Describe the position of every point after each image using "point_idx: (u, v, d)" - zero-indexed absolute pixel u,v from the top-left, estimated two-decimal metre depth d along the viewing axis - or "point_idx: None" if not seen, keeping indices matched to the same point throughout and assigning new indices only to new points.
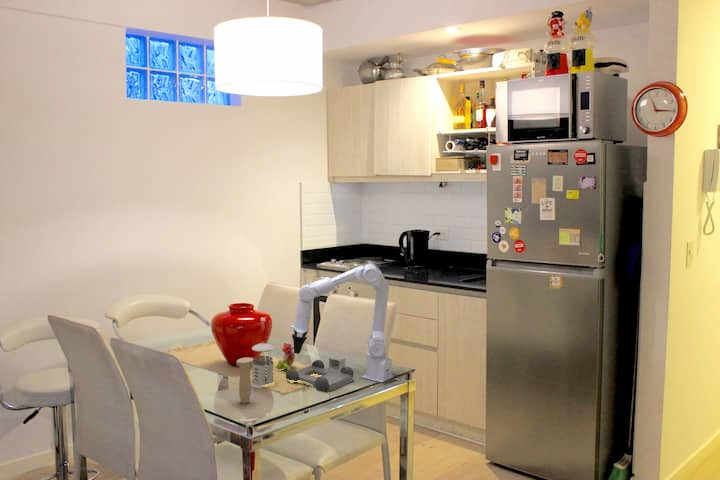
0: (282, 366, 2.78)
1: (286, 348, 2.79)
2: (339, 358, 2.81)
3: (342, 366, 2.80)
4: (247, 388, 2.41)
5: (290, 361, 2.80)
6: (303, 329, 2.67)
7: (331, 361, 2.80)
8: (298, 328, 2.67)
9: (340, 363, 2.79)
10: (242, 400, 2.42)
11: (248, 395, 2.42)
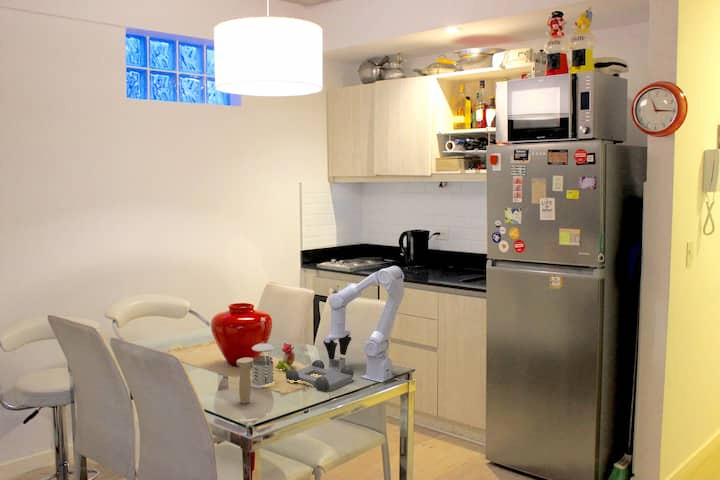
0: (282, 366, 2.78)
1: (286, 348, 2.79)
2: (339, 358, 2.81)
3: (342, 366, 2.80)
4: (247, 388, 2.41)
5: (290, 361, 2.80)
6: (335, 335, 2.77)
7: (331, 361, 2.80)
8: (331, 334, 2.78)
9: (340, 363, 2.79)
10: (242, 400, 2.42)
11: (248, 395, 2.42)
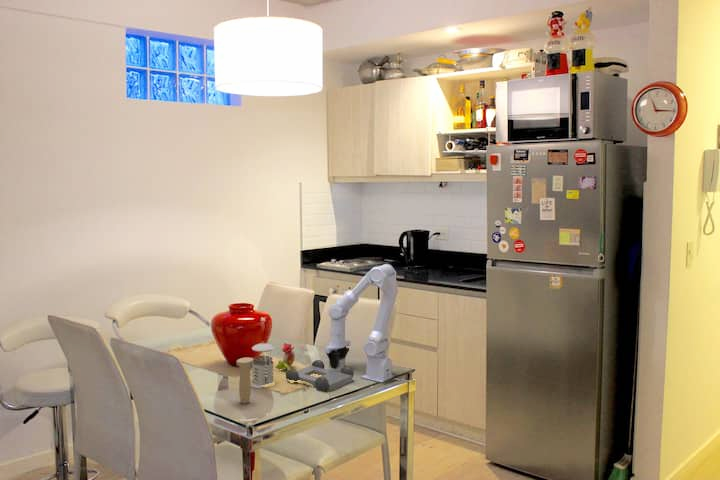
0: (282, 366, 2.78)
1: (286, 348, 2.79)
2: (339, 358, 2.81)
3: (342, 366, 2.80)
4: (247, 388, 2.41)
5: (290, 361, 2.80)
6: (335, 346, 2.77)
7: None
8: (331, 345, 2.79)
9: (340, 363, 2.79)
10: (242, 400, 2.42)
11: (248, 395, 2.42)
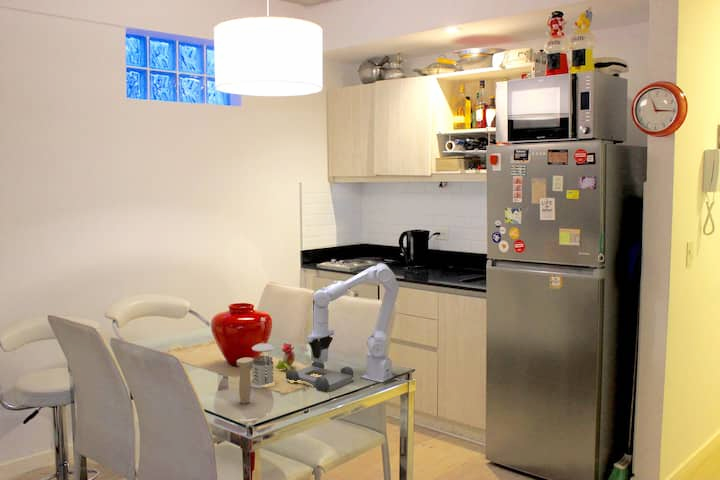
0: (282, 366, 2.78)
1: (286, 348, 2.79)
2: (321, 348, 2.70)
3: (324, 356, 2.69)
4: (247, 388, 2.41)
5: (290, 361, 2.80)
6: (318, 334, 2.66)
7: None
8: (314, 333, 2.67)
9: (323, 353, 2.68)
10: (242, 400, 2.42)
11: (248, 395, 2.42)
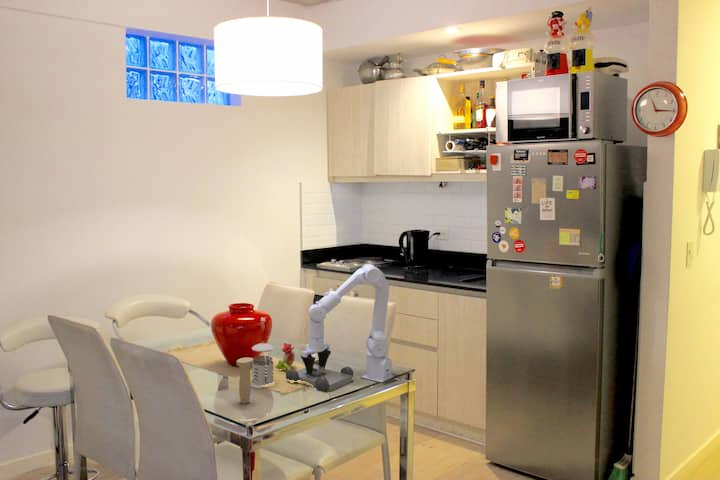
0: (282, 366, 2.78)
1: (286, 348, 2.79)
2: (317, 366, 2.68)
3: (320, 375, 2.67)
4: (247, 388, 2.41)
5: (290, 361, 2.80)
6: (313, 349, 2.64)
7: None
8: (309, 348, 2.65)
9: (318, 371, 2.66)
10: (242, 400, 2.42)
11: (248, 395, 2.42)
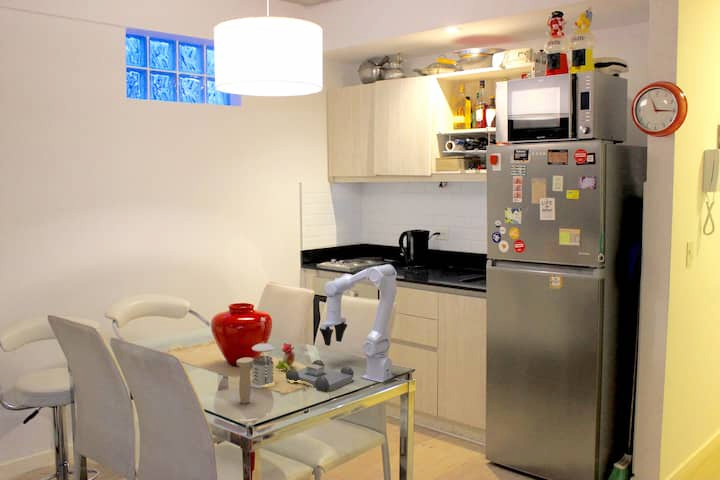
0: (282, 366, 2.78)
1: (286, 348, 2.79)
2: (317, 366, 2.68)
3: (320, 375, 2.67)
4: (247, 388, 2.41)
5: (290, 361, 2.80)
6: (331, 322, 2.82)
7: (309, 369, 2.68)
8: (327, 321, 2.83)
9: (318, 371, 2.66)
10: (242, 400, 2.42)
11: (248, 395, 2.42)
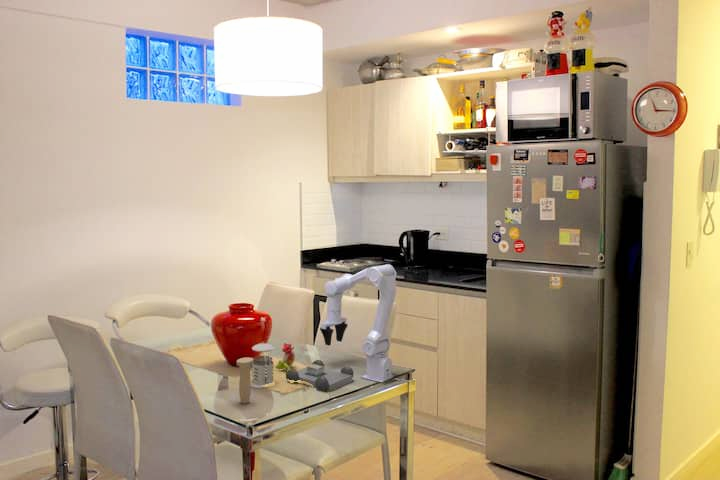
0: (282, 366, 2.78)
1: (286, 348, 2.79)
2: (317, 366, 2.68)
3: (320, 375, 2.67)
4: (247, 388, 2.41)
5: (290, 361, 2.80)
6: (331, 322, 2.83)
7: (309, 369, 2.68)
8: (328, 321, 2.84)
9: (318, 371, 2.66)
10: (242, 400, 2.42)
11: (248, 395, 2.42)
